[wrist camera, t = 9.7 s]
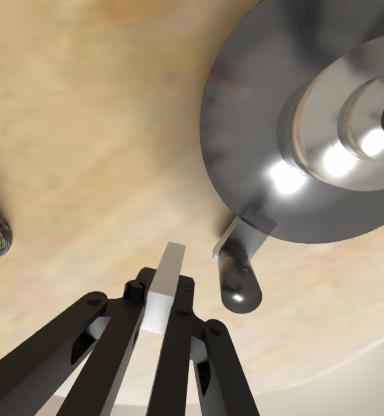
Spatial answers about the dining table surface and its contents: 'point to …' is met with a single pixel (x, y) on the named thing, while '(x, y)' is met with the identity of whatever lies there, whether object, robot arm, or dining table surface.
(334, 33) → the turntable
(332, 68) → the cover
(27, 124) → the dining table surface
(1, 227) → the pill bottle
